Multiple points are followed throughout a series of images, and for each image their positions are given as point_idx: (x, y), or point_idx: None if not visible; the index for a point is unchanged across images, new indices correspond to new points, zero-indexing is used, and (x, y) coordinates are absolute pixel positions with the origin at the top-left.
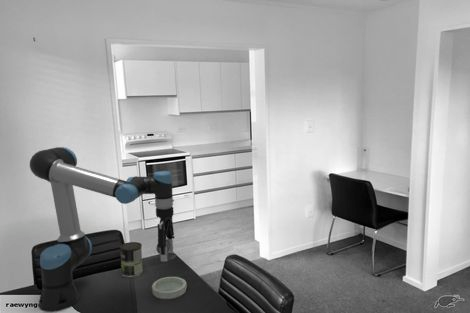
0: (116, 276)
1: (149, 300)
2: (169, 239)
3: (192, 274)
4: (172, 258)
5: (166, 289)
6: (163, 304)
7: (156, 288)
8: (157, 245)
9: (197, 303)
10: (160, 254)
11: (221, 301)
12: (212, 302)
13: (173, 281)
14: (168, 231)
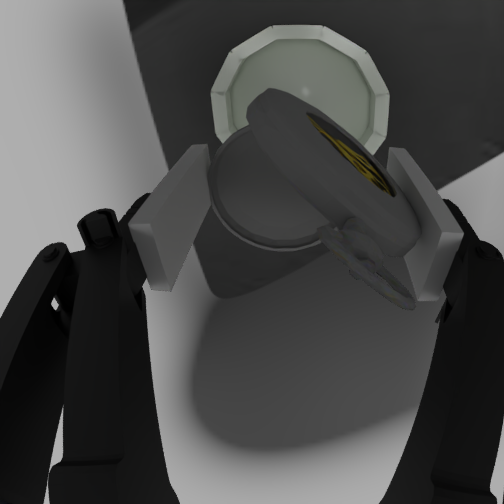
0: None
1: (197, 46)
2: (432, 272)
3: (455, 176)
4: (239, 236)
5: (290, 93)
6: (181, 117)
7: (293, 42)
8: (255, 123)
9: (219, 232)
10: (167, 174)
11: (248, 291)
12: (237, 271)
13: (370, 110)
14: (432, 400)
